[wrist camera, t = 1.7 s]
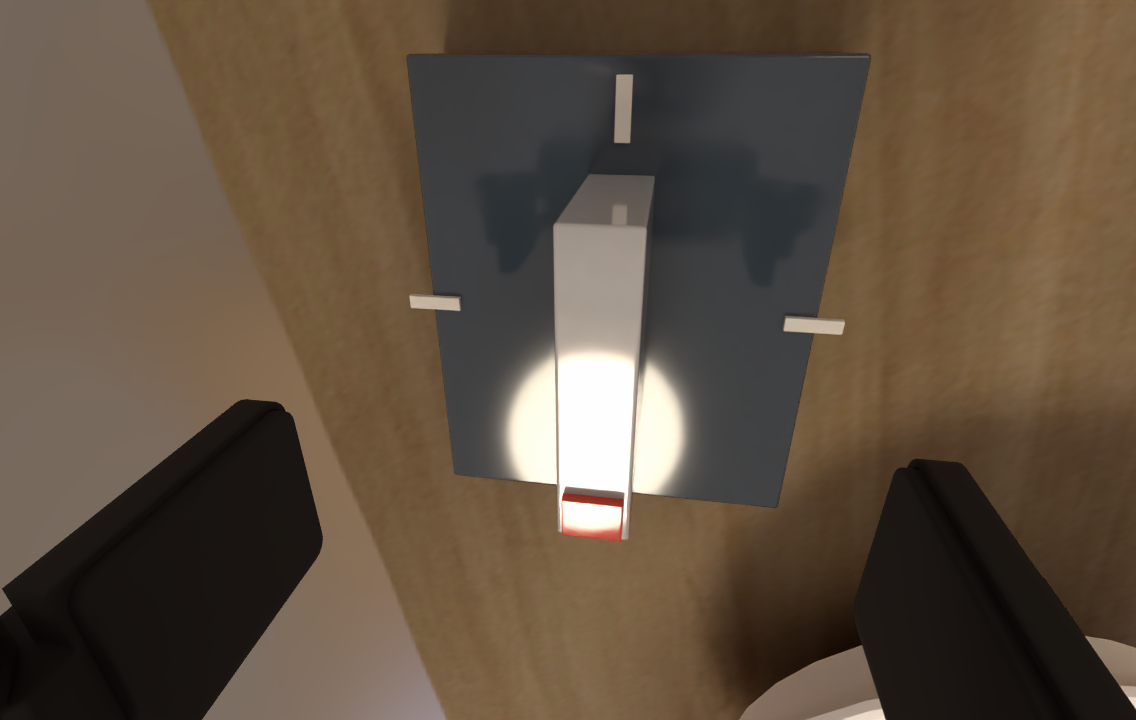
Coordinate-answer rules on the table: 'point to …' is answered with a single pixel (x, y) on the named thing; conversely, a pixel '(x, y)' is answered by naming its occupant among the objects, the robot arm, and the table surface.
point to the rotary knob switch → (678, 250)
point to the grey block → (600, 350)
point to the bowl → (849, 698)
